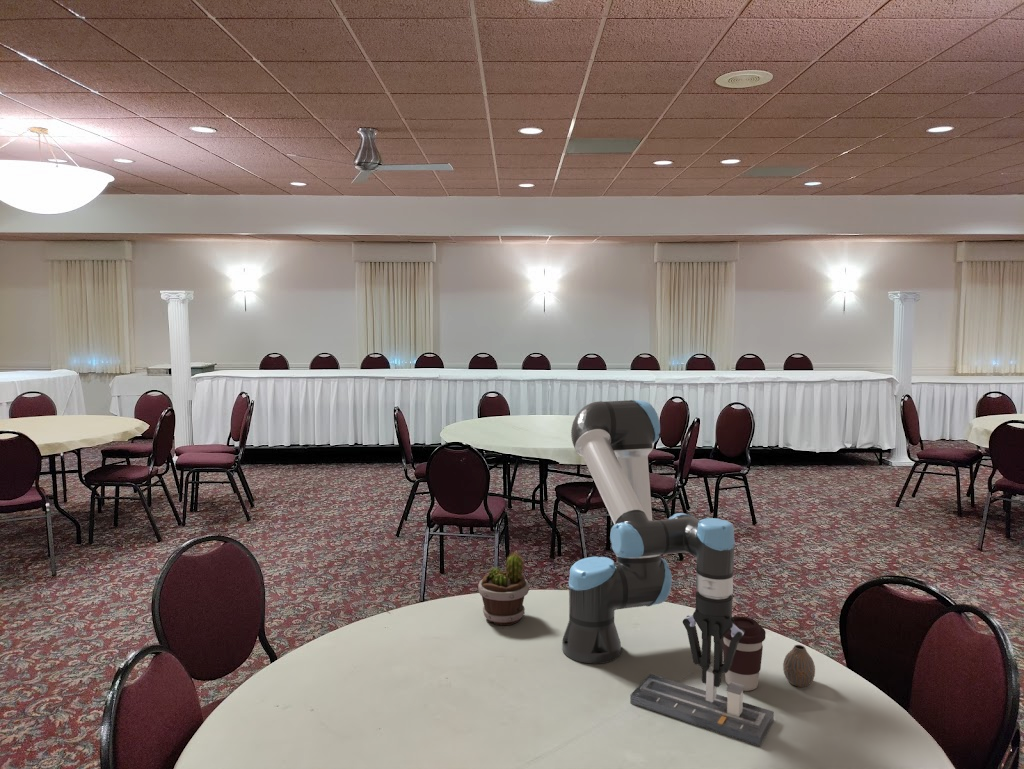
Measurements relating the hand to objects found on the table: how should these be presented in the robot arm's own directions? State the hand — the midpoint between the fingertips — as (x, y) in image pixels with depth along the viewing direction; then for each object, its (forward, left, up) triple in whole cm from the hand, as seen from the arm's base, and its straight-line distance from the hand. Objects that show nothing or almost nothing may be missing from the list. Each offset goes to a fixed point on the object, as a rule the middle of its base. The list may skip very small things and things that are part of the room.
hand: (711, 698), depth 146 cm
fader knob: (+5, 0, -1) cm, 5 cm away
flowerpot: (-65, +15, -4) cm, 67 cm away
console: (-2, 0, -4) cm, 4 cm away
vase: (+13, +25, -4) cm, 28 cm away
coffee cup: (+2, +17, -4) cm, 17 cm away
